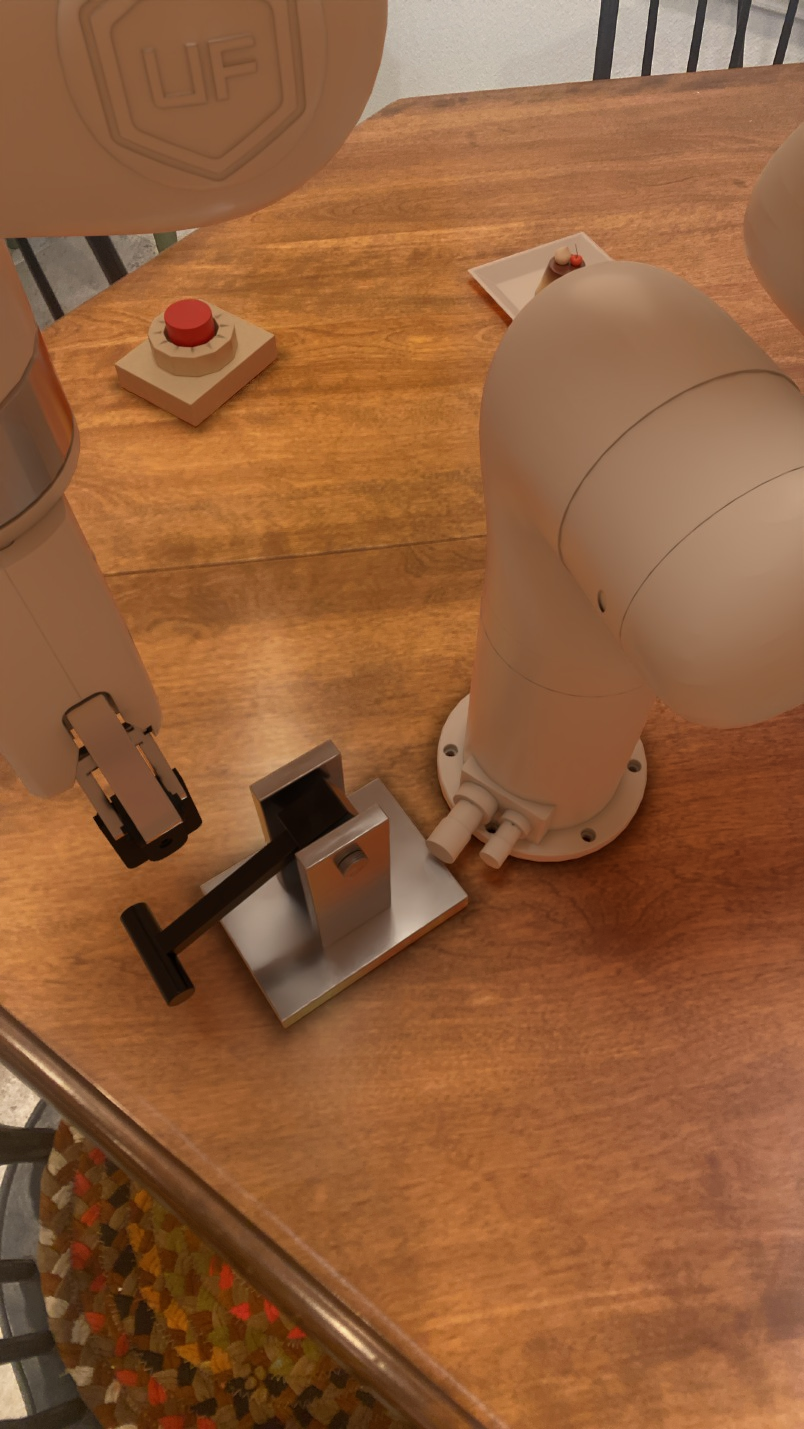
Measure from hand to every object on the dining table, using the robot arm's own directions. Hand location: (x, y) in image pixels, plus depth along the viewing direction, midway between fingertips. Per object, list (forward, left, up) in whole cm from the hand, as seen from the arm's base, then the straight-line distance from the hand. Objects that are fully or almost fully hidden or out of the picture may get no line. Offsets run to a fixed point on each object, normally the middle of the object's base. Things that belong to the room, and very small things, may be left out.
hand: (105, 751), depth 38 cm
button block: (+34, +30, -18) cm, 48 cm away
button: (+34, +30, -14) cm, 47 cm away
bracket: (+5, -6, -18) cm, 20 cm away
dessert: (+59, +11, -18) cm, 63 cm away
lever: (+1, -5, -10) cm, 11 cm away
